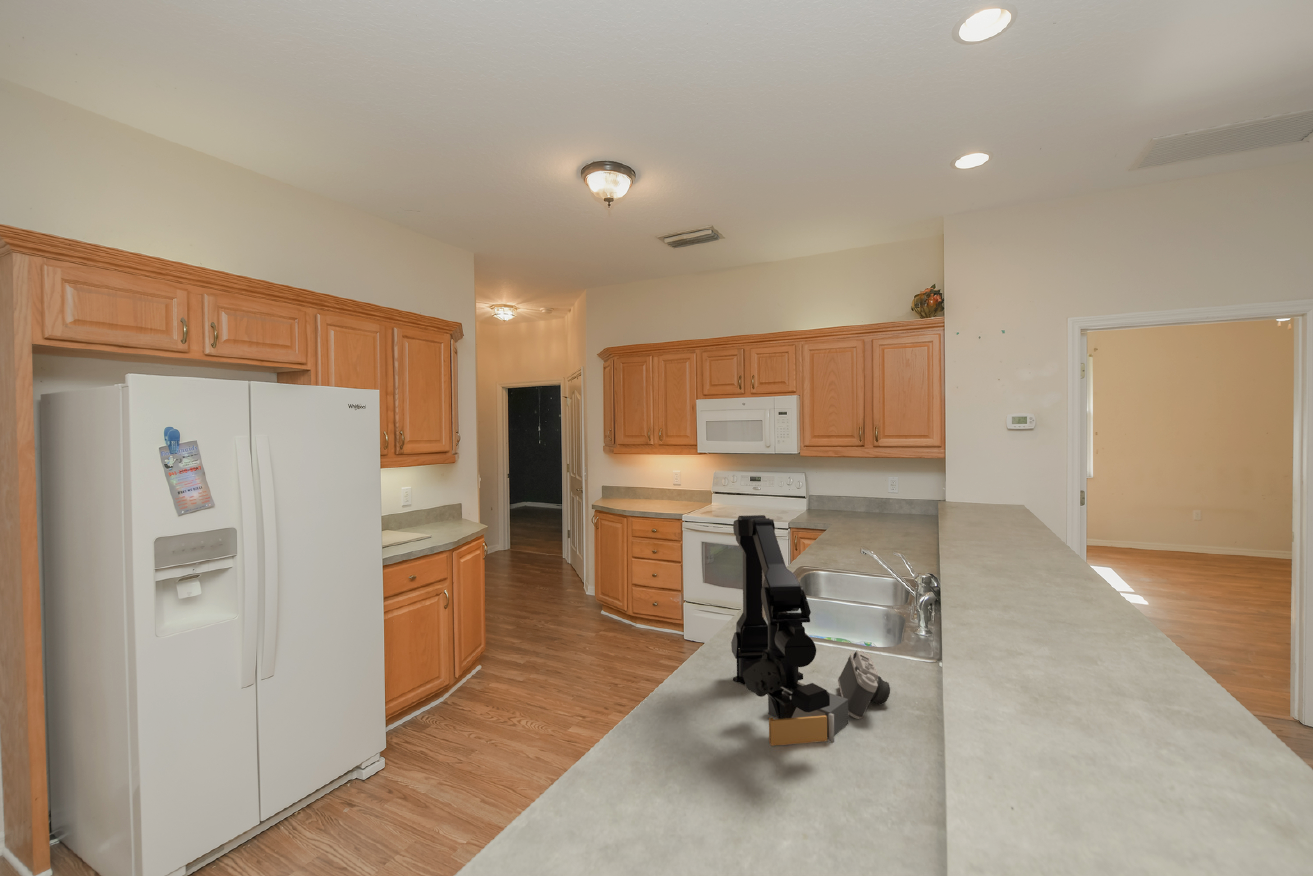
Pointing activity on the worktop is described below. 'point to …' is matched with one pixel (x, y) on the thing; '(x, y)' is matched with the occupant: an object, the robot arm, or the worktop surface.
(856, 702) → the camera
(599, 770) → the worktop surface
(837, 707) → the case
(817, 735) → the brown rectangular block
